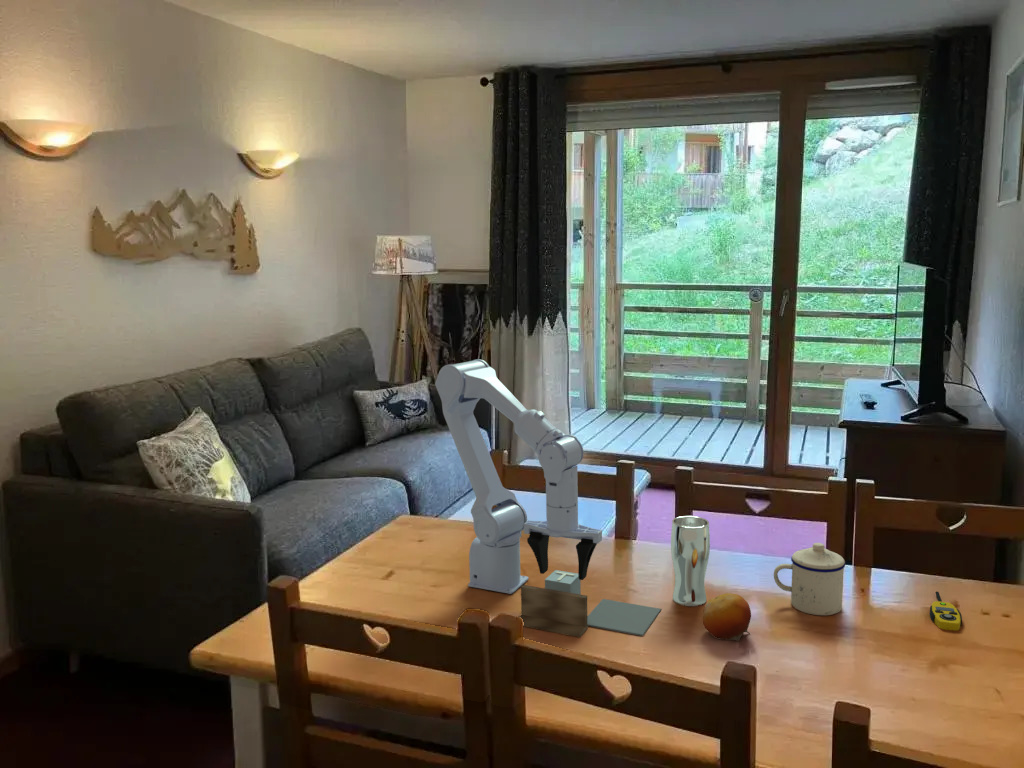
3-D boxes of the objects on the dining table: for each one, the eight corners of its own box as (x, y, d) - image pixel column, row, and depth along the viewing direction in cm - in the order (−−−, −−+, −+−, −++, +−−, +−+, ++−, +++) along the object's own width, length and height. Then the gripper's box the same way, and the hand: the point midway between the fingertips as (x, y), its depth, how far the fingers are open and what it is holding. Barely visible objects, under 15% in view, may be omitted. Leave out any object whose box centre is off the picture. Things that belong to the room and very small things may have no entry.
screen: (515, 624, 150) (514, 592, 148) (523, 616, 153) (523, 584, 152) (580, 637, 144) (579, 603, 143) (587, 628, 147) (587, 595, 146)
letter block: (545, 605, 157) (544, 578, 156) (555, 595, 162) (555, 568, 161) (570, 610, 155) (570, 582, 154) (580, 599, 160) (580, 572, 159)
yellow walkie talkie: (934, 619, 145) (922, 584, 159) (933, 630, 145) (922, 594, 159) (966, 623, 143) (951, 587, 157) (965, 634, 144) (951, 597, 158)
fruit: (754, 643, 138) (729, 597, 139) (712, 657, 142) (689, 612, 143) (768, 624, 145) (745, 580, 146) (728, 637, 149) (705, 595, 150)
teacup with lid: (842, 598, 157) (845, 537, 155) (844, 619, 149) (847, 555, 147) (773, 591, 161) (775, 531, 159) (771, 611, 153) (774, 549, 151)
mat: (581, 624, 149) (581, 623, 149) (602, 600, 159) (602, 598, 159) (642, 636, 144) (642, 634, 144) (661, 610, 154) (661, 608, 154)
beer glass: (709, 608, 154) (710, 528, 152) (669, 606, 156) (670, 527, 153) (708, 593, 161) (709, 516, 158) (670, 590, 162) (671, 514, 160)
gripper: (516, 505, 155) (517, 576, 157) (592, 514, 149) (592, 588, 151) (532, 494, 161) (533, 563, 163) (605, 502, 155) (606, 574, 157)
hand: (563, 574), depth 157 cm, fingers open, 7 cm apart
